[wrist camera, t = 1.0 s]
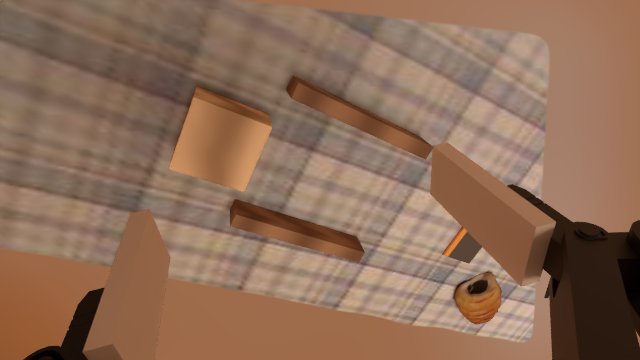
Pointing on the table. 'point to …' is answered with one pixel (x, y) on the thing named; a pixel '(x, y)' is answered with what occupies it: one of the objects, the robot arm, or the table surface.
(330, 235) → the lane
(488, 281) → the pastry
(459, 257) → the pad
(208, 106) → the block
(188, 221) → the table surface
